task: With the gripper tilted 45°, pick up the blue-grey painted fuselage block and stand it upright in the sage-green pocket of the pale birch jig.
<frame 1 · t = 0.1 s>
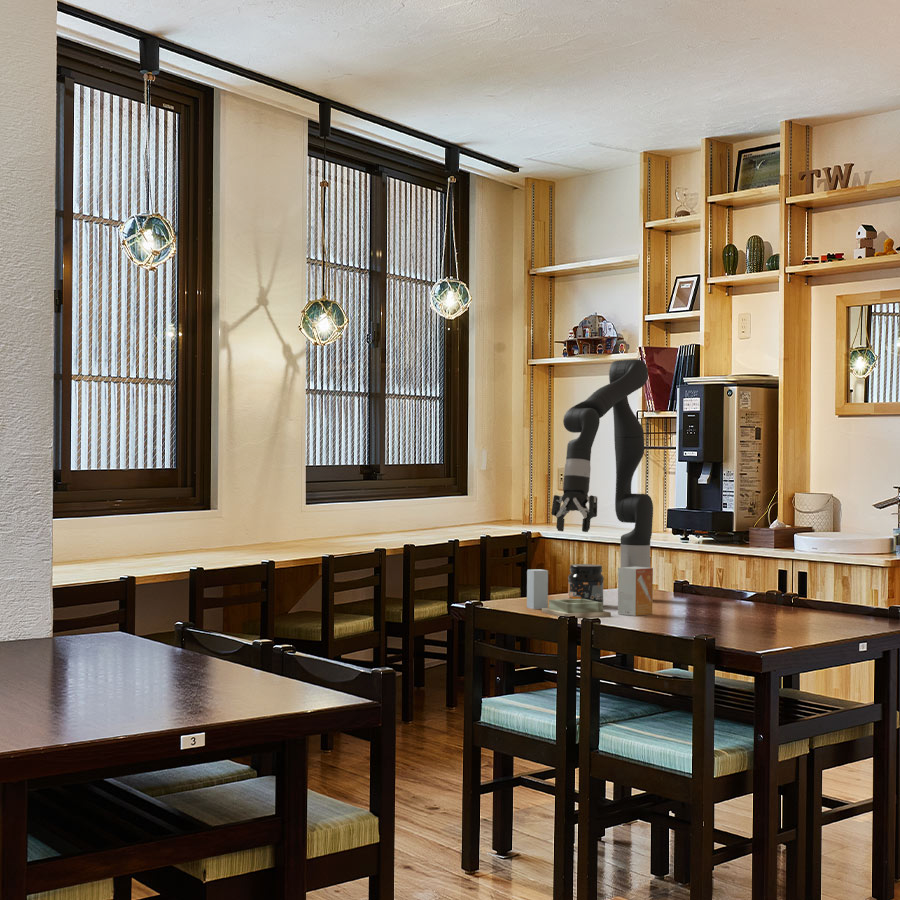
hand: (572, 531, 315), 22 cm above the table, tool pointing down, fingers open, 8 cm apart
supplement container: (585, 606, 324), on the table
cradle jig: (575, 613, 303), on the table
fuselage block: (537, 608, 316), on the table
small box: (635, 615, 304), on the table
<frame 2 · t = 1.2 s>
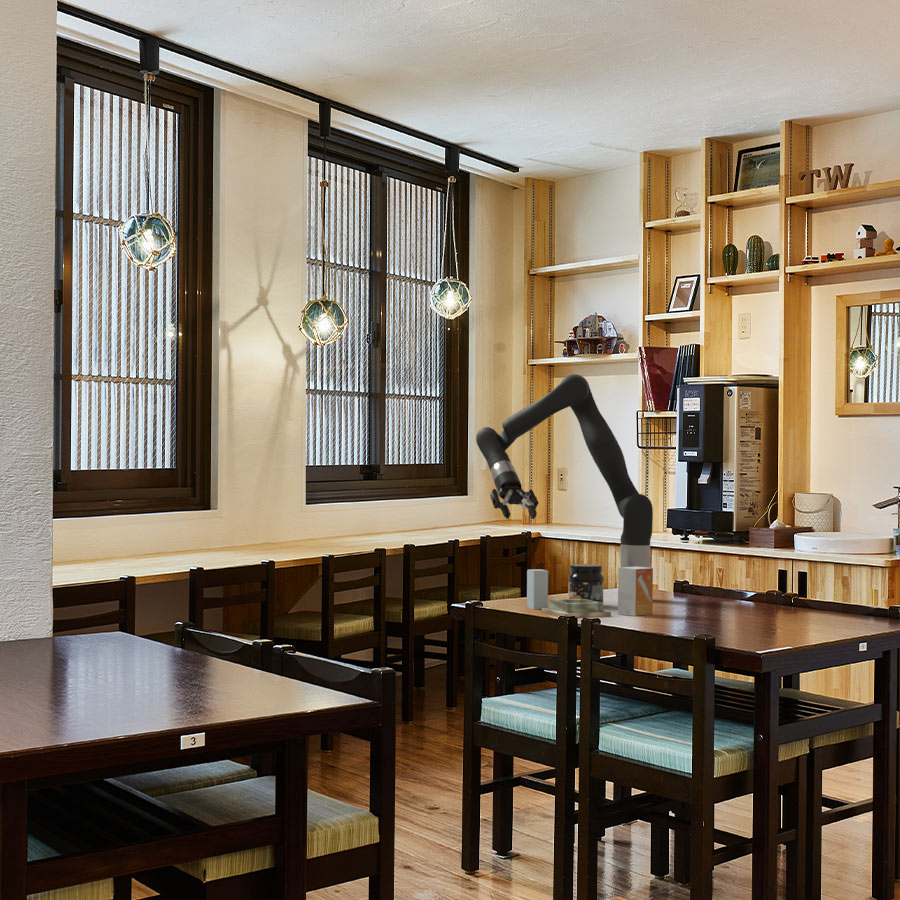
hand: (521, 517, 327), 26 cm above the table, tool tilted 45°, fingers open, 8 cm apart
nothing on the table moved.
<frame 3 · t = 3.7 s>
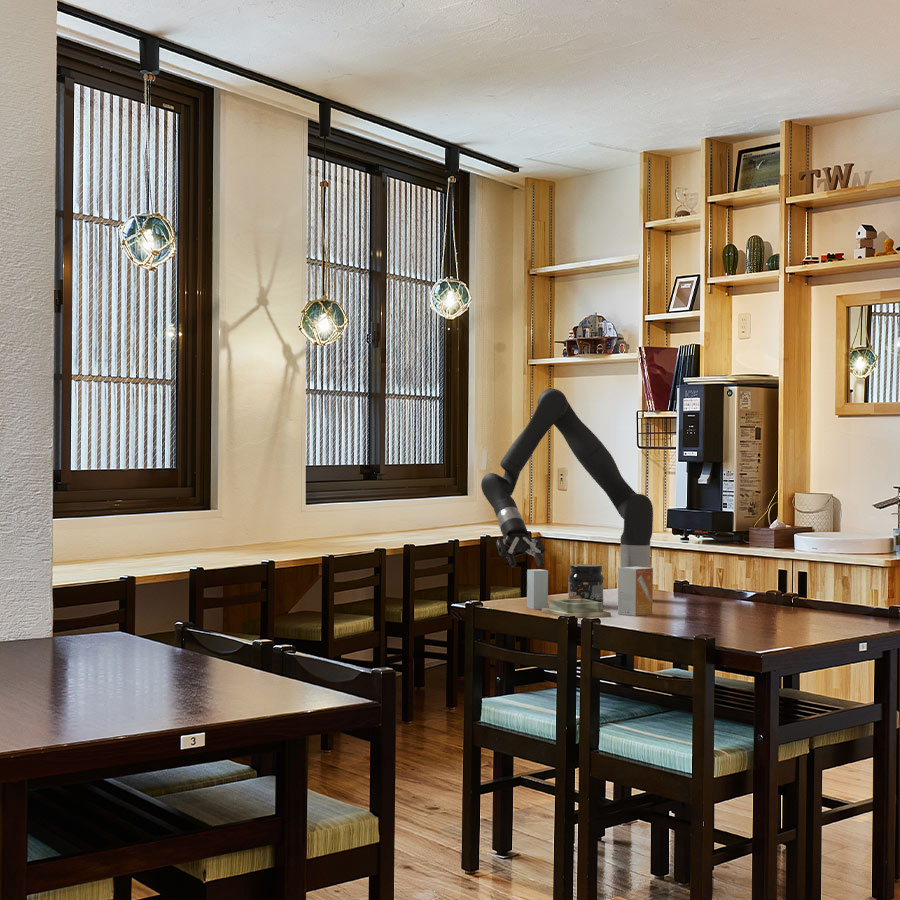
hand: (527, 565, 323), 12 cm above the table, tool tilted 45°, fingers open, 8 cm apart
nothing on the table moved.
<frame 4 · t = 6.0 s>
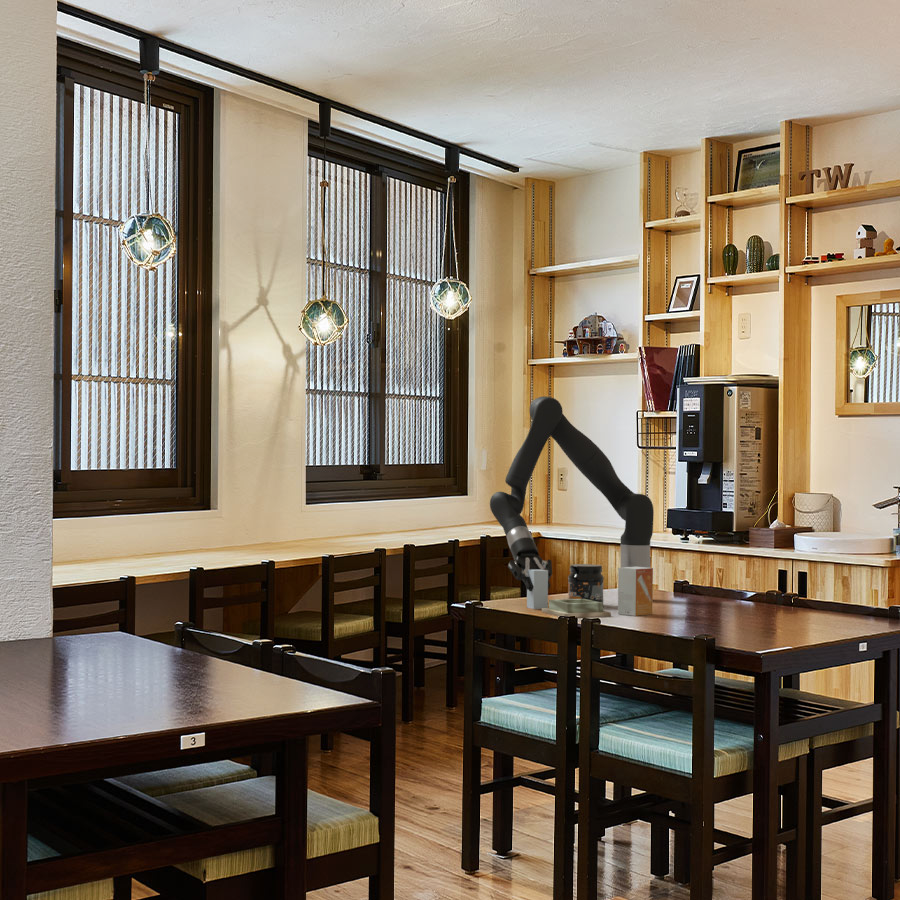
hand: (539, 589, 315), 6 cm above the table, tool tilted 45°, fingers closed on fuselage block, 4 cm apart
fuselage block: (537, 608, 316), on the table, touching gripper
everything else where it was.
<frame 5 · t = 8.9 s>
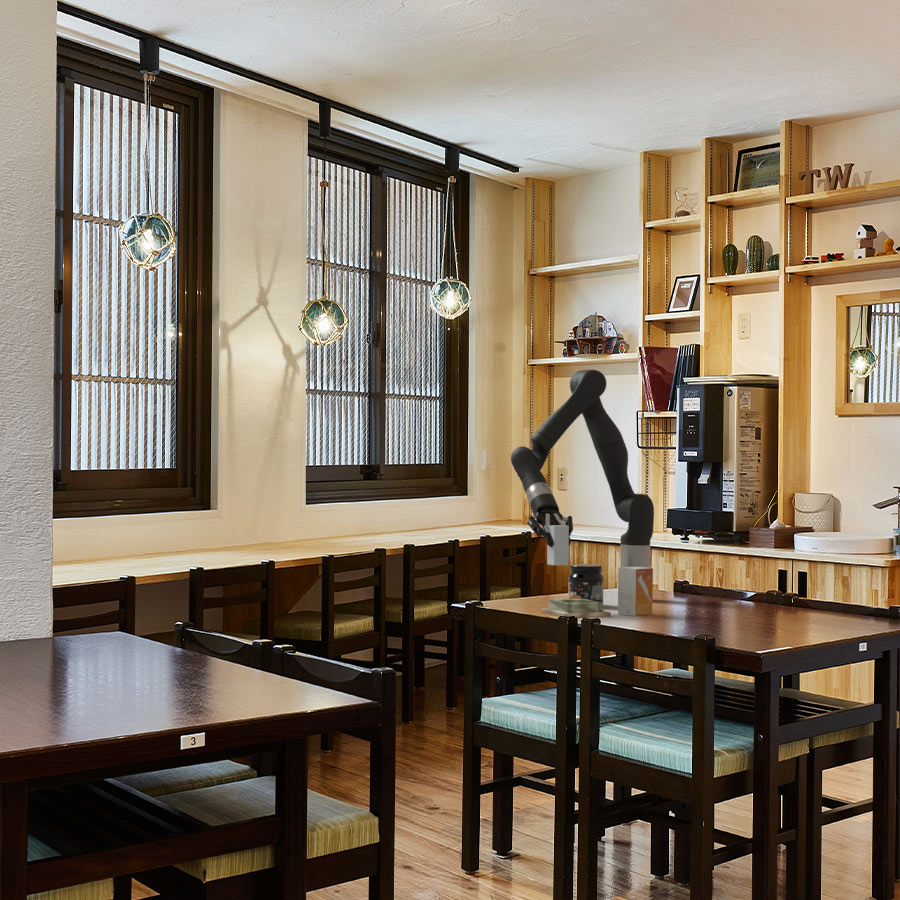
hand: (560, 544, 308), 19 cm above the table, tool tilted 45°, fingers closed on fuselage block, 4 cm apart
fuselage block: (557, 564, 309), point 13 cm above the table, touching gripper
everything else where it was.
when the fingers open (8 cm above the table, at t = 12.1 s): fuselage block stays where it is, resting on cradle jig.
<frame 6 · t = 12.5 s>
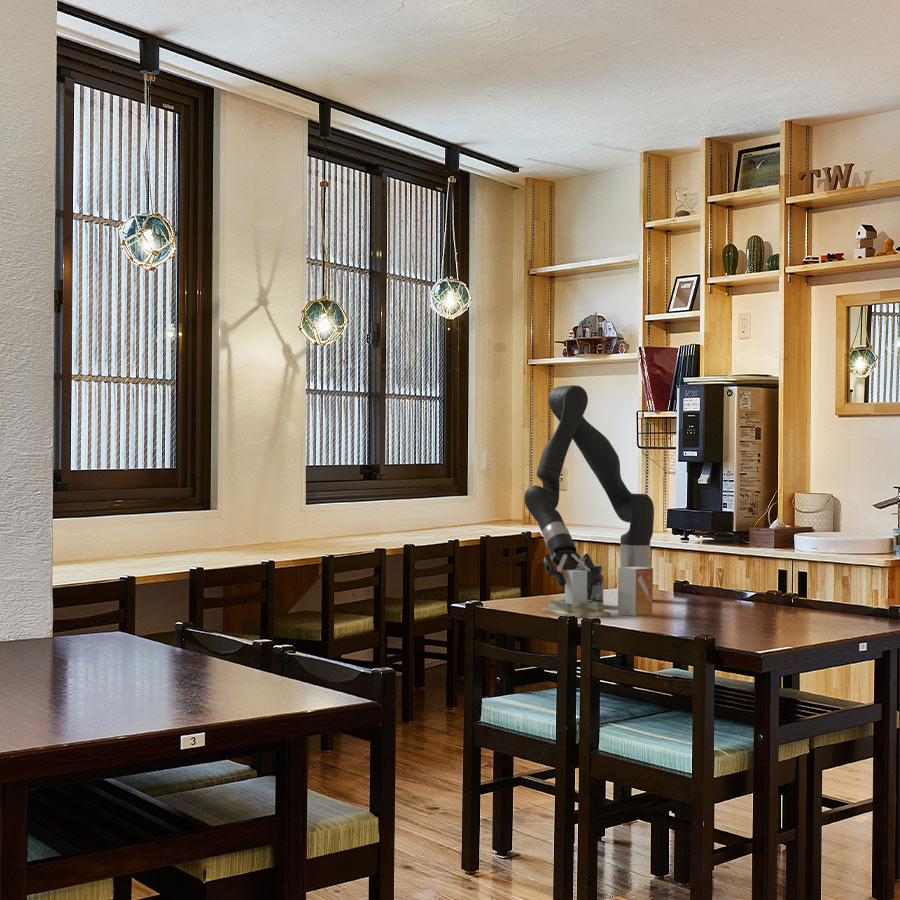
hand: (577, 584, 302), 8 cm above the table, tool tilted 45°, fingers open, 8 cm apart
fuselage block: (575, 610, 303), point 1 cm above the table, touching cradle jig
everything else where it was.
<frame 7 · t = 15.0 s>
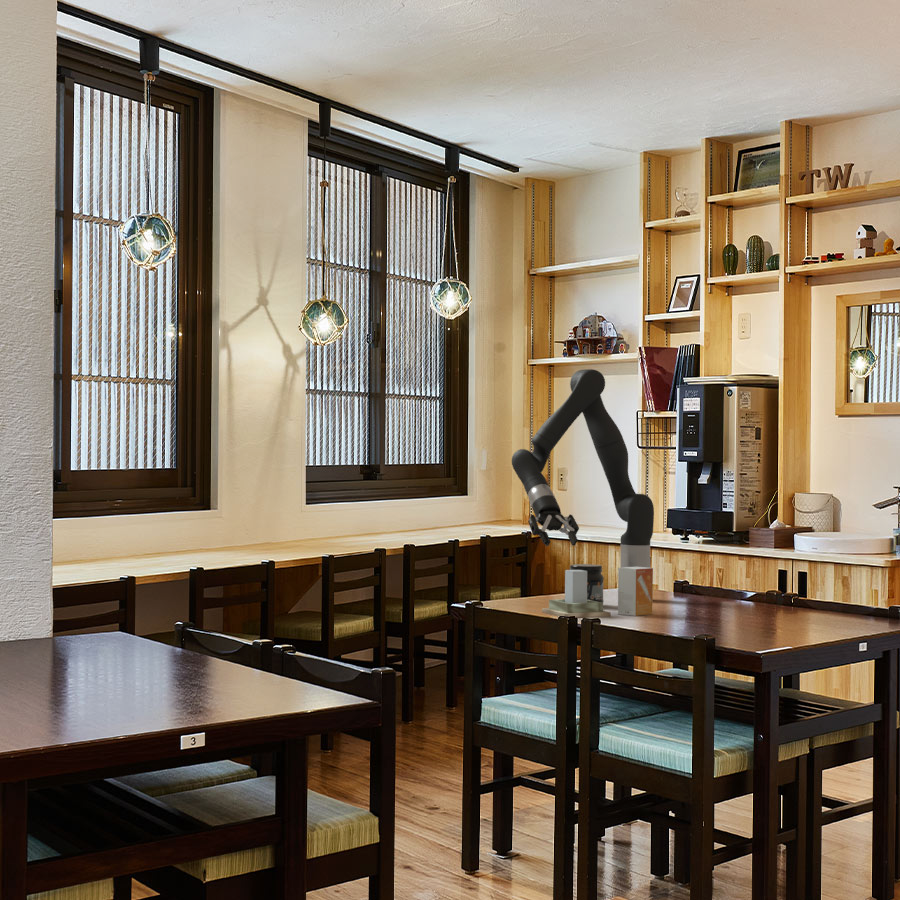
hand: (561, 543, 313), 19 cm above the table, tool tilted 45°, fingers open, 8 cm apart
nothing on the table moved.
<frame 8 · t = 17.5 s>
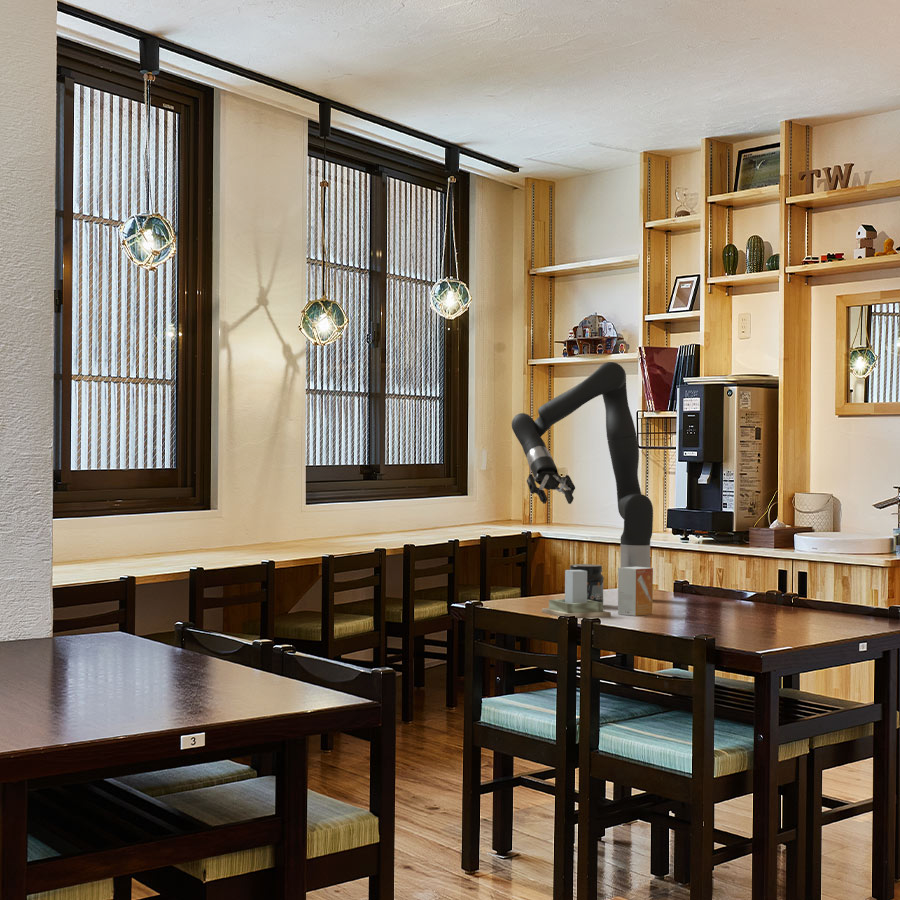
hand: (558, 501, 327), 31 cm above the table, tool tilted 45°, fingers open, 8 cm apart
nothing on the table moved.
at the end: fuselage block 0.1 cm off-centre on the cradle jig, point 1.0 cm above the cradle jig's base; fuselage block tilted 0°; the gripper is holding nothing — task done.
